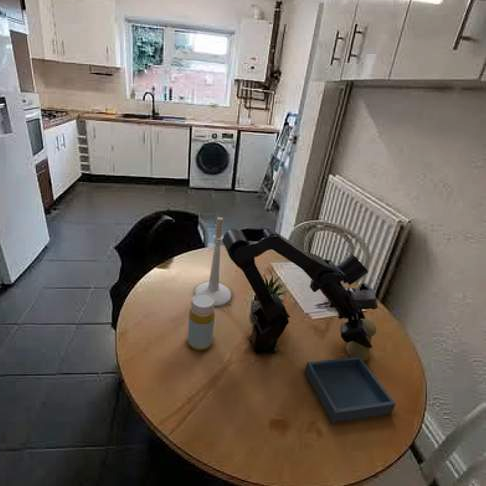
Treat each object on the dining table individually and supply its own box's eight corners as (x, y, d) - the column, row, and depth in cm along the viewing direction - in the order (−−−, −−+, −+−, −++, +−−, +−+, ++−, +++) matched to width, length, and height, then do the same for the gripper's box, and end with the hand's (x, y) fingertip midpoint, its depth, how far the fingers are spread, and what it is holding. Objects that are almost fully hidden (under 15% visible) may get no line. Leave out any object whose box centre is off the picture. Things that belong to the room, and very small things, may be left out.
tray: (332, 423, 70) (335, 412, 69) (304, 371, 82) (307, 362, 81) (391, 414, 73) (395, 403, 72) (356, 365, 85) (359, 356, 84)
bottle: (215, 338, 91) (220, 296, 85) (205, 355, 85) (209, 311, 79) (194, 329, 93) (197, 288, 87) (183, 345, 87) (185, 302, 81)
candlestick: (187, 294, 108) (191, 215, 97) (210, 279, 118) (217, 206, 106) (215, 311, 101) (223, 229, 90) (238, 294, 110) (248, 218, 99)
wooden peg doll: (342, 344, 92) (351, 315, 88) (361, 344, 93) (371, 315, 89) (352, 361, 87) (363, 330, 83) (372, 360, 87) (384, 330, 83)
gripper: (367, 302, 74) (404, 351, 75) (360, 264, 90) (390, 305, 91) (326, 319, 79) (361, 364, 80) (326, 280, 95) (355, 318, 97)
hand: (368, 335), depth 87 cm, fingers open, 9 cm apart
